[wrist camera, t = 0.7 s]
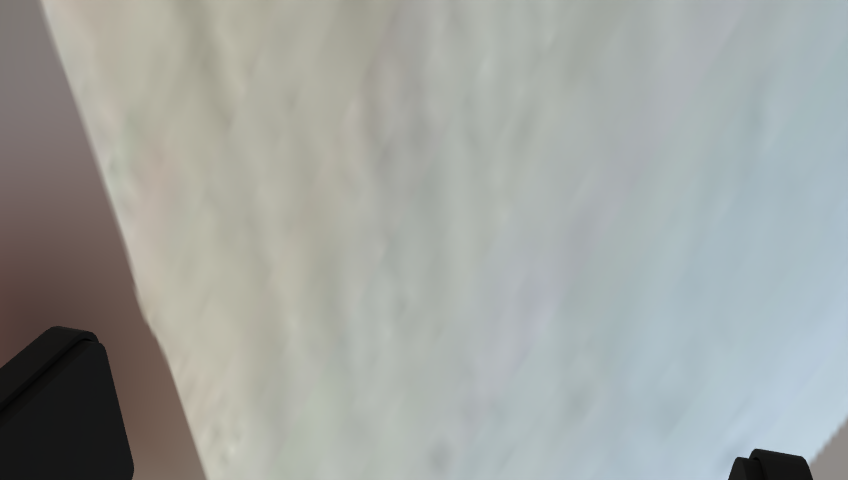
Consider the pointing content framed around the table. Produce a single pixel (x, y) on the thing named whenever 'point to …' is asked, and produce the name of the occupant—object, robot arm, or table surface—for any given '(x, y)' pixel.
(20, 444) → the robot arm
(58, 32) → the table surface
